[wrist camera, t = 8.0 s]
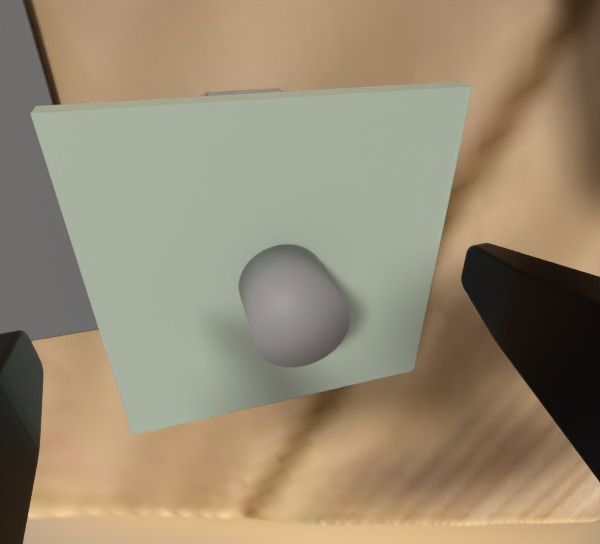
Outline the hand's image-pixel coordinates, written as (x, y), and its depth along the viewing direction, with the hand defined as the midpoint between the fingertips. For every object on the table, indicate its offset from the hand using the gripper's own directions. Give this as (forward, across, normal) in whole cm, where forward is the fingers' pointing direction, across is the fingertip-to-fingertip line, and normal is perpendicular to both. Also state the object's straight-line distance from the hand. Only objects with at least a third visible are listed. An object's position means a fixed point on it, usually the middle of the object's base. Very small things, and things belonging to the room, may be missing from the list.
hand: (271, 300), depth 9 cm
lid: (+7, -2, +4) cm, 8 cm away
